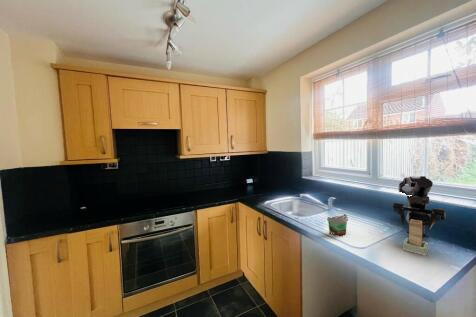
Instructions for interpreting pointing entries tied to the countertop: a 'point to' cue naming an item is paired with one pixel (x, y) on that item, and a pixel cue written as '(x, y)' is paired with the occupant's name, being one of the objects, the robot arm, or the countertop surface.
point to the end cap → (415, 247)
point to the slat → (415, 232)
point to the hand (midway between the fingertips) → (415, 226)
